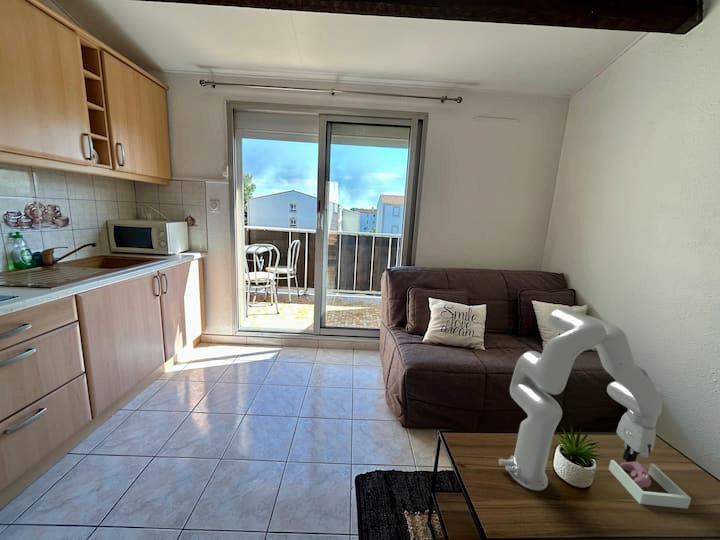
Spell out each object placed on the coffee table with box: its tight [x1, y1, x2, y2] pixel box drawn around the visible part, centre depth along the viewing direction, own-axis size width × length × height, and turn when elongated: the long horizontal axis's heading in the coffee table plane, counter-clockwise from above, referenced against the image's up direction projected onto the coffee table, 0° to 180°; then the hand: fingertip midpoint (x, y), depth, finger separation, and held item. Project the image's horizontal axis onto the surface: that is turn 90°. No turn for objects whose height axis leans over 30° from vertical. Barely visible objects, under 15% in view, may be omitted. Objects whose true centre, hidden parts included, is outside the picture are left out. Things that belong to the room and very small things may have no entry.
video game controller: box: [618, 460, 652, 489], centre depth 103 cm, size 10×5×7 cm, turn 153°
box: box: [608, 459, 692, 510], centre depth 100 cm, size 15×13×4 cm
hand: (628, 460), depth 108 cm, fingers closed
